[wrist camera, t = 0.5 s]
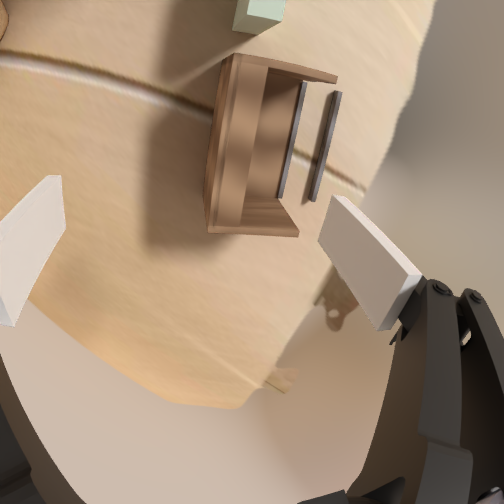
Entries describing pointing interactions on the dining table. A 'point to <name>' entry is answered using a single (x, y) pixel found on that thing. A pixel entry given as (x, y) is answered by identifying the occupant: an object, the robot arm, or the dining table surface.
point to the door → (257, 15)
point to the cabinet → (258, 144)
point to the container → (3, 19)
